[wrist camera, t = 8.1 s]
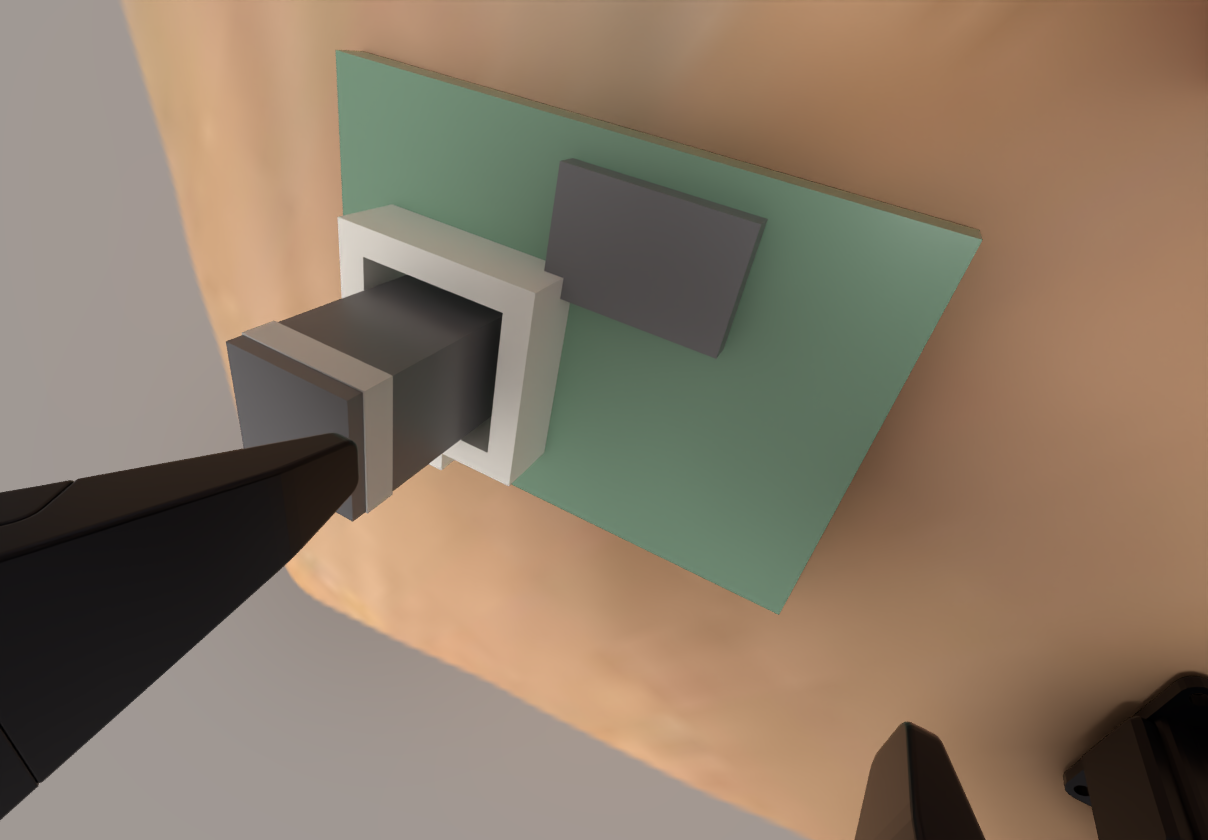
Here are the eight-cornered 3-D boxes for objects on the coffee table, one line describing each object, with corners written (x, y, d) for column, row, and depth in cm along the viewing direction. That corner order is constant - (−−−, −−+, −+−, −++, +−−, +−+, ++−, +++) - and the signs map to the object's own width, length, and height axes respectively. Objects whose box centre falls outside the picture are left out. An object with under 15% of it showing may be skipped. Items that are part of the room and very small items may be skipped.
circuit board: (980, 230, 16) (989, 265, 13) (785, 592, 23) (763, 666, 20) (363, 51, 21) (269, 46, 18) (371, 395, 29) (306, 431, 26)
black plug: (525, 303, 21) (348, 399, 15) (512, 402, 23) (354, 523, 17) (428, 264, 22) (223, 338, 16) (424, 363, 24) (245, 463, 18)
